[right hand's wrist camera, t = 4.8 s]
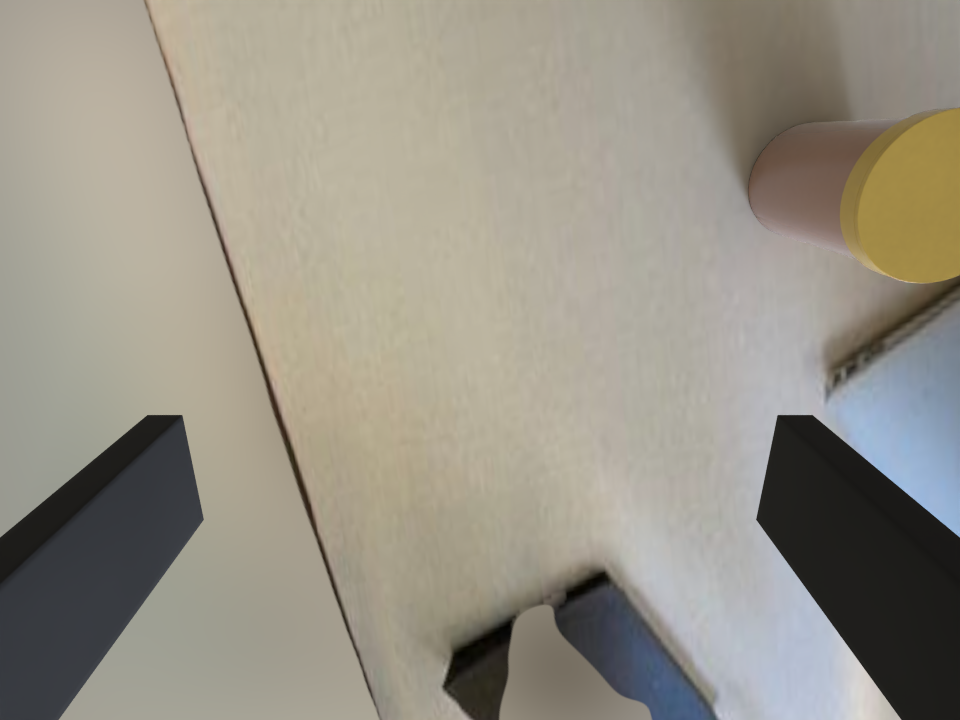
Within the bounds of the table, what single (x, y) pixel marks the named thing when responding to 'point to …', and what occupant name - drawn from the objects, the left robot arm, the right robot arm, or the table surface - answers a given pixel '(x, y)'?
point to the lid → (907, 200)
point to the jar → (810, 179)
